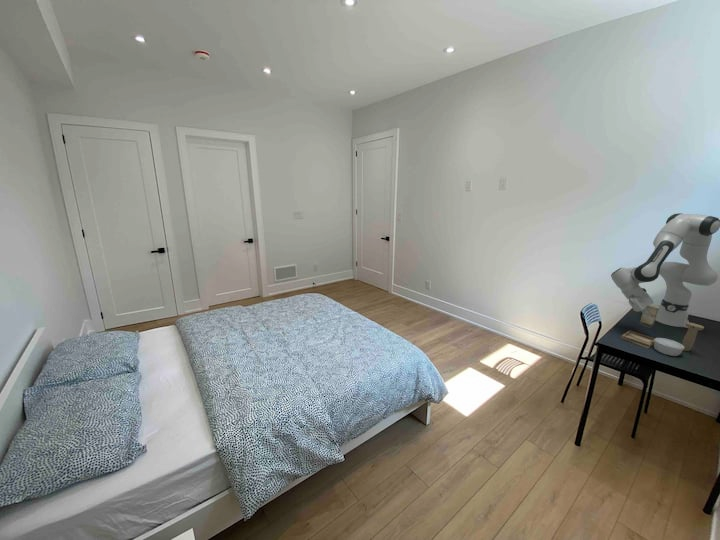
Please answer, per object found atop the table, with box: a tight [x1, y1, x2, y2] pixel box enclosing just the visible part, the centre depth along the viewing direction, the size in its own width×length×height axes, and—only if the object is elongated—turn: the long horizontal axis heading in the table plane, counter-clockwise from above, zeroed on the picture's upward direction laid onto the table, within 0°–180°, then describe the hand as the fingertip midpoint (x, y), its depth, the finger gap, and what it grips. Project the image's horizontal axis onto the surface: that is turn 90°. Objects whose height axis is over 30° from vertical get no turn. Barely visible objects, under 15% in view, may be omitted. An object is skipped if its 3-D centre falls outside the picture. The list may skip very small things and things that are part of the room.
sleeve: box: [638, 304, 660, 329], centre depth 170 cm, size 5×5×12 cm
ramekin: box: [653, 337, 685, 357], centre depth 156 cm, size 11×11×5 cm
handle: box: [681, 322, 705, 352], centre depth 157 cm, size 5×6×15 cm
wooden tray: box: [620, 330, 655, 349], centre depth 167 cm, size 13×12×2 cm
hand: (651, 314), depth 170 cm, fingers closed on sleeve, 5 cm apart
